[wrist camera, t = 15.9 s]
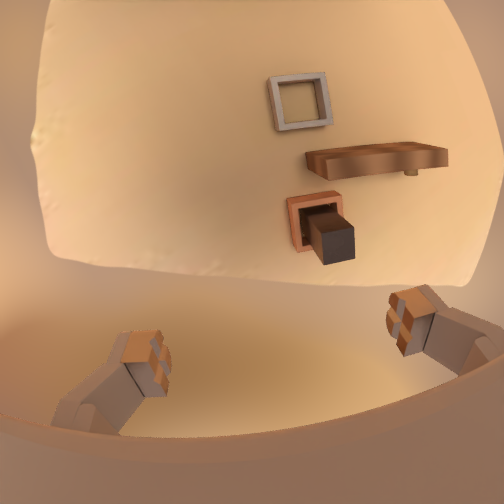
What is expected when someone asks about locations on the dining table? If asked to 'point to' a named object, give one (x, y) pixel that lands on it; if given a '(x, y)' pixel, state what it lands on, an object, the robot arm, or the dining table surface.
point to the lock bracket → (308, 201)
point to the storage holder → (321, 96)
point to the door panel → (376, 160)
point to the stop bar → (328, 233)
